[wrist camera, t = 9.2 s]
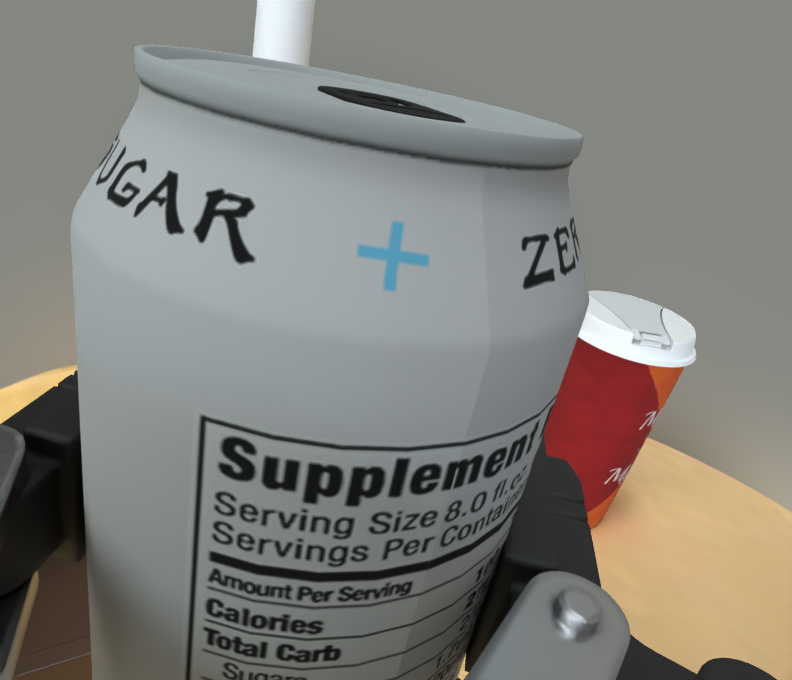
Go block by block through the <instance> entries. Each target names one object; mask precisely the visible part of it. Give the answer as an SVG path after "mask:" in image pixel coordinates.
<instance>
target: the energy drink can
mask: <svg viewBox="0 0 792 680" xmlns="http://www.w3.org/2000/svg"><path fill="white" fill-rule="evenodd" d="M134 66H135V70H136V72H137V74H138V76H139V78H140V89H139V96H138V99H137V101H136V103H135V105H134V107H133V109H132V111H131V114H130V115H129V118H128V119H127V121H126V122H125V124H124V126H123V127H122V129H121V131H120V132H119V134H118V136H117V138H116V139H115V141H114V143H113V144H112V146H111V147H110V149H109V151H108V152H107V154H106V156H105V157H104V159H103V160H102V162H101V164H100V165H99V167H98V168H97V170H96V172H95V174H94V175H93V177H92V178H91V180H90V182H89V183H88V185H87V187H86V188H85V190H84V192H83V193H82V195H81V197H80V198H79V200H78V202H77V204H76V206H75V208H74V210H73V215H72V222H71V249H72V269H73V287H74V288H73V289H74V310H75V329H76V350H77V372H78V392H79V413H80V433H81V454H82V474H83V495H84V515H85V536H86V556H87V577H88V597H89V618H90V638H91V659H92V679H93V680H455V679H457V676H458V674H459V671H460V668H461V665H462V662H463V659H464V657H465V654H466V651H467V648H468V645H469V642H470V639H471V637H472V634H473V631H474V628H475V625H476V622H477V620H478V617H479V614H480V611H481V608H482V605H483V602H484V600H485V597H486V594H487V591H488V588H489V585H490V583H491V580H492V577H493V574H494V571H495V568H496V566H497V563H498V560H499V557H500V554H501V551H502V549H503V546H504V543H505V540H506V538H507V535H508V532H509V530H510V527H511V524H512V521H513V518H514V515H515V513H516V510H517V507H518V504H519V501H520V499H521V496H522V493H523V490H524V487H525V484H526V482H527V479H528V476H529V473H530V470H531V467H532V465H533V462H534V459H535V456H536V453H537V451H538V448H539V445H540V442H541V439H542V436H543V434H544V431H545V428H546V425H547V422H548V419H549V417H550V414H551V411H552V408H553V405H554V403H555V400H556V397H557V394H558V391H559V388H560V386H561V383H562V380H563V377H564V374H565V371H566V369H567V366H568V363H569V360H570V357H571V355H572V352H573V349H574V346H575V343H576V340H577V338H578V335H579V332H580V329H581V326H582V323H583V321H584V318H585V315H586V311H587V308H588V305H589V293H588V287H587V282H586V277H585V272H584V267H583V262H582V257H581V252H580V248H579V243H578V238H577V234H576V229H575V224H574V218H573V213H572V208H571V203H570V196H569V187H568V175H569V169H570V166H571V164H572V162H573V160H574V159H576V158H577V157H578V156H579V154H580V151H581V148H582V144H583V140H584V139H583V136H582V135H581V134H580V133H579V132H577V131H574V130H572V129H570V128H567V127H564V126H562V125H559V124H556V123H553V122H550V121H546V120H543V119H540V118H536V117H533V116H530V115H526V114H522V113H518V112H515V111H511V110H508V109H504V108H500V107H496V106H492V105H488V104H484V103H480V102H475V101H472V100H467V99H463V98H459V97H454V96H450V95H446V94H441V93H436V92H433V91H428V90H424V89H419V88H414V87H410V86H405V85H400V84H396V83H391V82H386V81H381V80H376V79H371V78H367V77H362V76H357V75H352V74H346V73H341V72H335V71H330V70H326V69H320V68H315V67H309V66H304V65H298V64H293V63H287V62H281V61H275V60H270V59H264V58H257V57H251V56H245V55H238V54H232V53H225V52H218V51H211V50H203V49H195V48H187V47H177V46H165V45H140V46H136V48H135V50H134Z"/></svg>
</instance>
